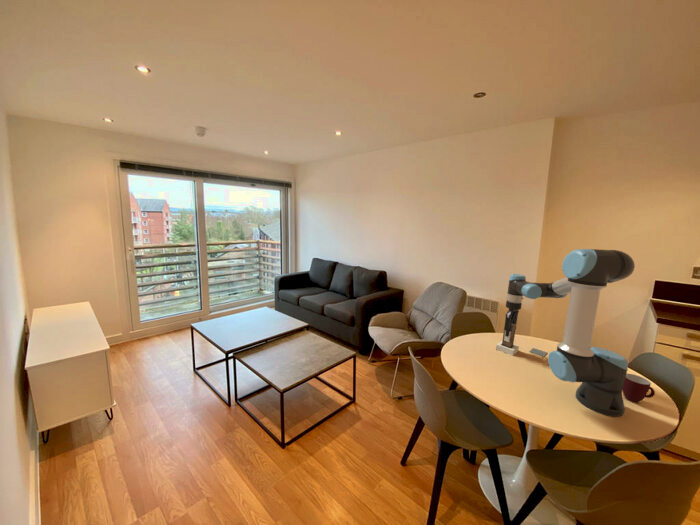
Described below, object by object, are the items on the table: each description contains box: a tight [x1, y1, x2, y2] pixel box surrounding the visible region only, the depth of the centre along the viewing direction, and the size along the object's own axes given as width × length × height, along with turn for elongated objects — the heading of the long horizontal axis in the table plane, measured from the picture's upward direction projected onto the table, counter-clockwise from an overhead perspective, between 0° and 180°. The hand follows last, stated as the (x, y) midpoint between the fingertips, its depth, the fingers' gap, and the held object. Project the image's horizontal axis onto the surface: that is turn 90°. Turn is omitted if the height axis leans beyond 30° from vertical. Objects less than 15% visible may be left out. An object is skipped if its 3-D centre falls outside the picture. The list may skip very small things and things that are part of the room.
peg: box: [501, 324, 517, 348], centre depth 157 cm, size 4×4×14 cm
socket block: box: [495, 340, 520, 357], centre depth 158 cm, size 9×9×3 cm
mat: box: [528, 347, 548, 357], centre depth 157 cm, size 7×7×1 cm
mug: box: [622, 373, 656, 404], centre depth 116 cm, size 11×8×10 cm
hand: (508, 339), depth 158 cm, fingers closed on peg, 4 cm apart
